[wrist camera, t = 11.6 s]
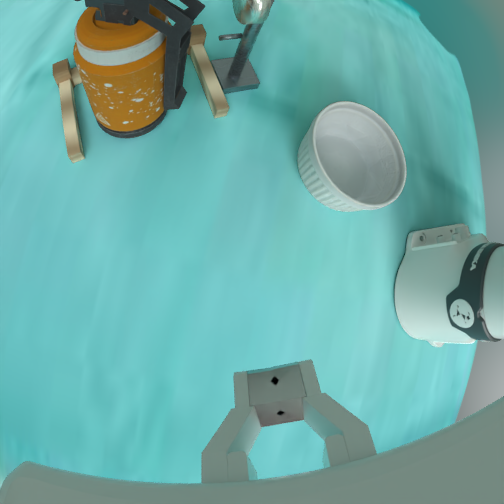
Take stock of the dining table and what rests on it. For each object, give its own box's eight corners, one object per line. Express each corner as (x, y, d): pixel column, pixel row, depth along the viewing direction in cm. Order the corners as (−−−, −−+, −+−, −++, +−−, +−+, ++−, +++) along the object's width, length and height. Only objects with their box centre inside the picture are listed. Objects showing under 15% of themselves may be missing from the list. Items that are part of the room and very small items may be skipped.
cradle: (228, 115, 35) (235, 98, 31) (71, 163, 29) (60, 150, 26) (198, 43, 35) (202, 24, 31) (60, 81, 29) (52, 64, 25)
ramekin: (308, 107, 38) (332, 81, 31) (383, 158, 41) (414, 141, 34) (271, 186, 35) (294, 166, 29) (359, 237, 38) (394, 229, 31)
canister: (116, 73, 31) (101, -51, 12) (195, 93, 34) (227, -36, 15) (84, 130, 30) (32, 11, 11) (168, 154, 33) (176, 26, 13)
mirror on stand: (244, 60, 36) (287, -32, 20) (257, 88, 36) (310, -5, 20) (202, 67, 34) (229, -35, 18) (214, 95, 34) (248, -7, 18)
